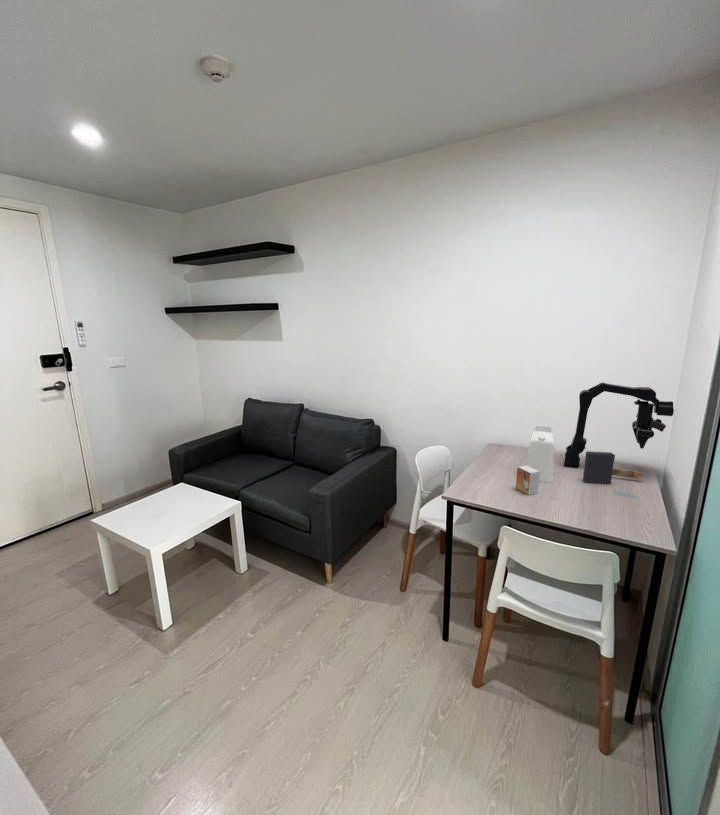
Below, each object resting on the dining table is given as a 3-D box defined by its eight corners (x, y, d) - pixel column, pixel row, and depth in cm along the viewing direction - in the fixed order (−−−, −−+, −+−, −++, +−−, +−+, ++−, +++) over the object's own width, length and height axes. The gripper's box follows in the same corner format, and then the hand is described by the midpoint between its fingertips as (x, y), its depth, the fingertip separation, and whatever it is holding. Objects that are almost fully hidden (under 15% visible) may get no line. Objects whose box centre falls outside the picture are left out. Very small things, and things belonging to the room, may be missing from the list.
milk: (552, 475, 197) (558, 424, 191) (552, 483, 187) (557, 430, 181) (526, 471, 202) (531, 421, 197) (524, 479, 192) (528, 427, 187)
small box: (515, 488, 182) (517, 466, 179) (524, 486, 184) (526, 465, 181) (528, 495, 174) (530, 472, 172) (538, 493, 176) (540, 471, 174)
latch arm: (584, 475, 195) (585, 465, 194) (584, 473, 197) (585, 463, 196) (641, 483, 185) (642, 473, 184) (640, 481, 187) (641, 471, 186)
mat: (614, 495, 174) (614, 494, 174) (611, 484, 185) (611, 483, 185) (638, 499, 170) (638, 498, 170) (634, 487, 181) (634, 487, 181)
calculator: (607, 482, 188) (611, 451, 185) (611, 485, 183) (615, 454, 180) (582, 480, 190) (585, 450, 187) (585, 484, 185) (588, 453, 182)
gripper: (670, 420, 177) (664, 453, 180) (661, 411, 193) (656, 442, 196) (640, 417, 182) (635, 450, 185) (634, 409, 198) (629, 439, 201)
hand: (640, 445), depth 192 cm, fingers open, 9 cm apart
